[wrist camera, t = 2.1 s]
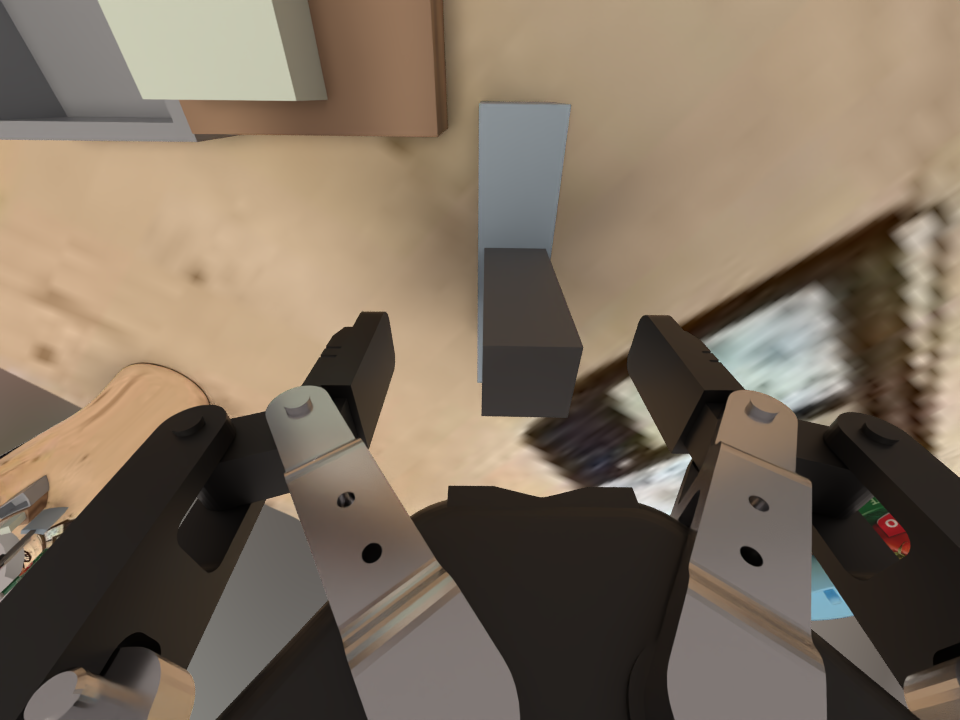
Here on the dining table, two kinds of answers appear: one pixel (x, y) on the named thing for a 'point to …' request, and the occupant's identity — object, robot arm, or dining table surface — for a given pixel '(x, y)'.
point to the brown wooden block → (354, 77)
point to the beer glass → (80, 461)
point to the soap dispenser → (825, 596)
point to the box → (75, 79)
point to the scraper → (522, 263)
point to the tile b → (218, 48)
